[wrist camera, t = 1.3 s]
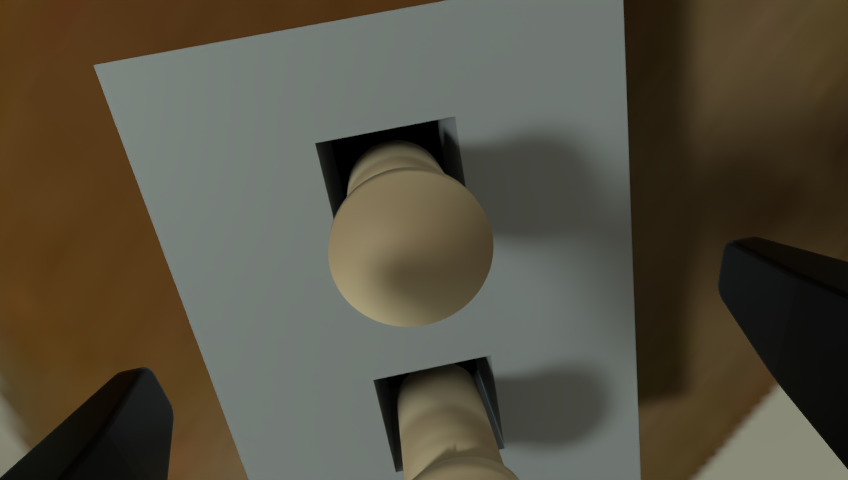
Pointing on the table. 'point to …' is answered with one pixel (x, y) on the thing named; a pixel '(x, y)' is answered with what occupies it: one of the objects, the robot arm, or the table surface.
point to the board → (322, 197)
